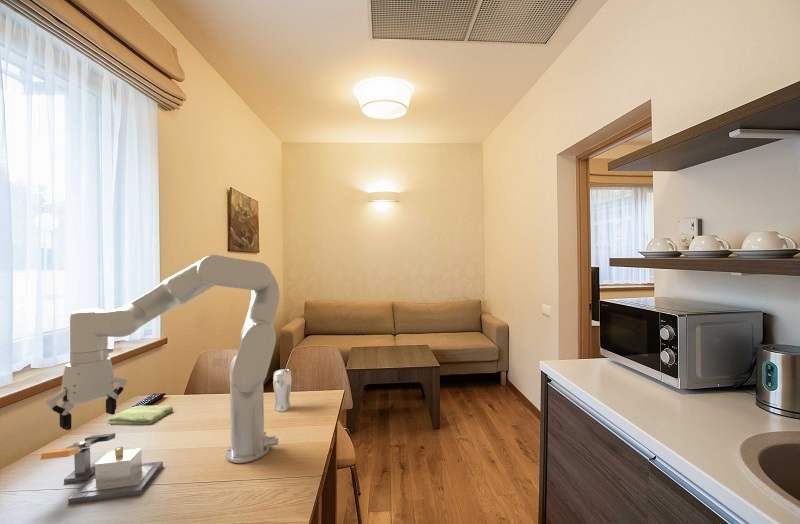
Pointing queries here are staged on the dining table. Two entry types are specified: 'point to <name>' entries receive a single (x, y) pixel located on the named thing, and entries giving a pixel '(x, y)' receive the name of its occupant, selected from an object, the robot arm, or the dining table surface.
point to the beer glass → (282, 389)
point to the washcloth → (140, 415)
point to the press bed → (93, 493)
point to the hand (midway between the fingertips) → (89, 420)
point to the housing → (118, 467)
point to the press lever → (76, 446)
